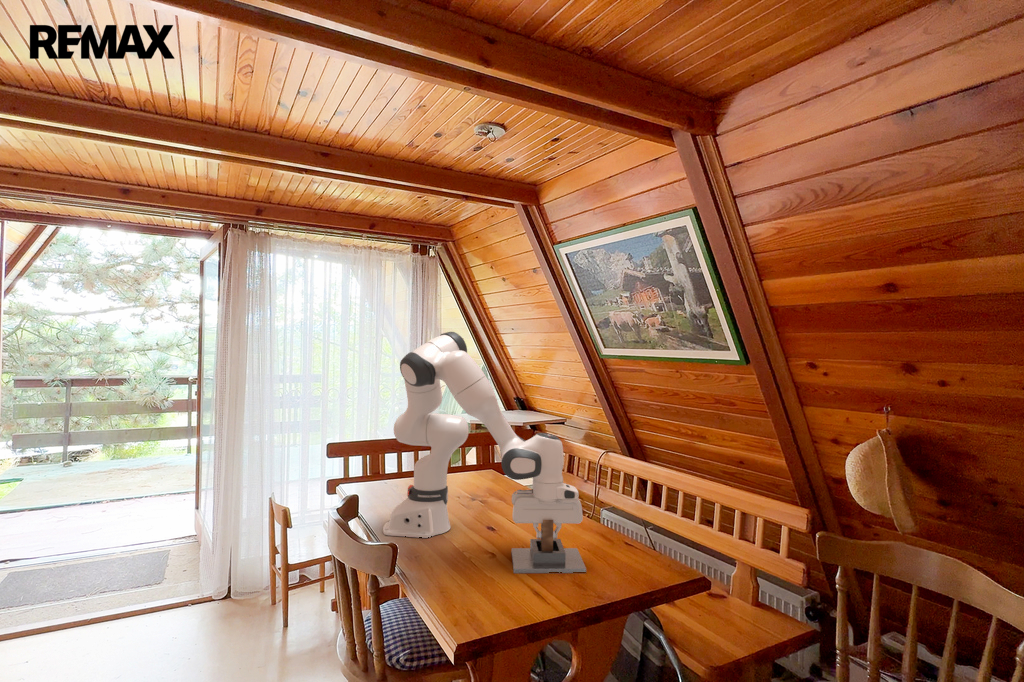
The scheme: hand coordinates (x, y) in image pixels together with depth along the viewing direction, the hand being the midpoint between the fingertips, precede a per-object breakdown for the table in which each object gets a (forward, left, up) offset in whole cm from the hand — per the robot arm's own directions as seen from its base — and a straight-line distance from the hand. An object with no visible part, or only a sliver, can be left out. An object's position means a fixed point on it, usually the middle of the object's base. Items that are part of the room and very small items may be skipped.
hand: (546, 537), depth 155 cm
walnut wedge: (0, 0, -4) cm, 4 cm away
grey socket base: (0, 0, -7) cm, 7 cm away
